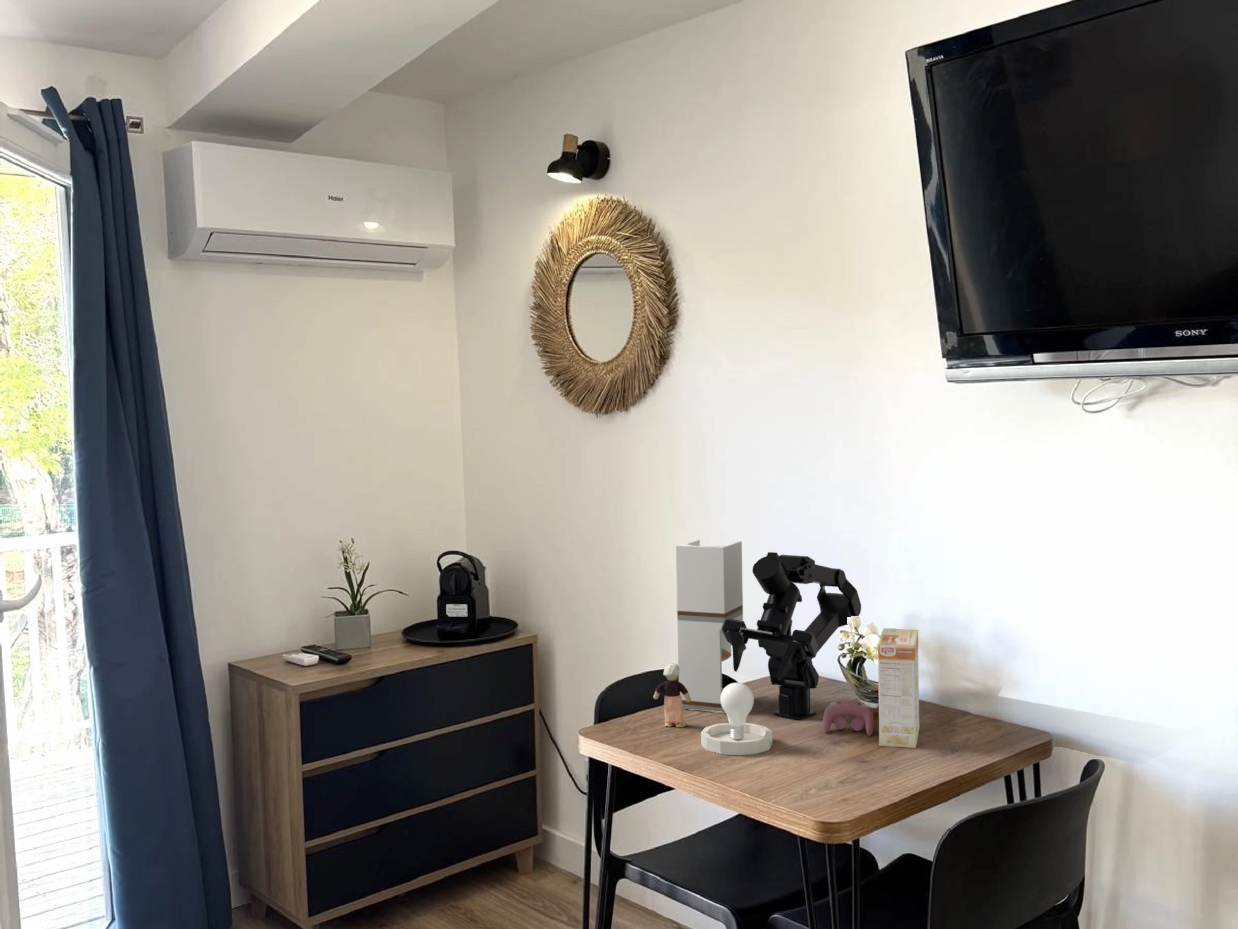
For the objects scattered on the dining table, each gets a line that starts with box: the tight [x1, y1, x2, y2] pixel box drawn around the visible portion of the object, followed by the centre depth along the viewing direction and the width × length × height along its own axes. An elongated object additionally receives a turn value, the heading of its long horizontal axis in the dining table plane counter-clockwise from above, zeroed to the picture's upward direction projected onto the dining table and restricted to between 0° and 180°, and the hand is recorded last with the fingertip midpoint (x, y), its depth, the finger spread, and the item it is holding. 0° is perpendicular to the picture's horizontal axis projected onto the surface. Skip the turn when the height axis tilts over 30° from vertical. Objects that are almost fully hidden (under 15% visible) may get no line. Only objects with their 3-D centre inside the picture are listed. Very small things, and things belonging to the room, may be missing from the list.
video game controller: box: [822, 700, 875, 737], centre depth 221 cm, size 10×5×7 cm, turn 72°
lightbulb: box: [720, 682, 755, 741], centre depth 213 cm, size 6×6×11 cm
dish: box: [700, 722, 773, 756], centre depth 214 cm, size 13×13×2 cm
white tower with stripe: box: [675, 539, 744, 712], centre depth 242 cm, size 11×11×35 cm
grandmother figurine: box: [653, 662, 691, 728], centre depth 227 cm, size 8×4×13 cm, turn 84°
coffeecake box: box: [877, 627, 920, 749], centre depth 217 cm, size 15×7×20 cm, turn 162°
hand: (756, 674), depth 219 cm, fingers open, 9 cm apart
